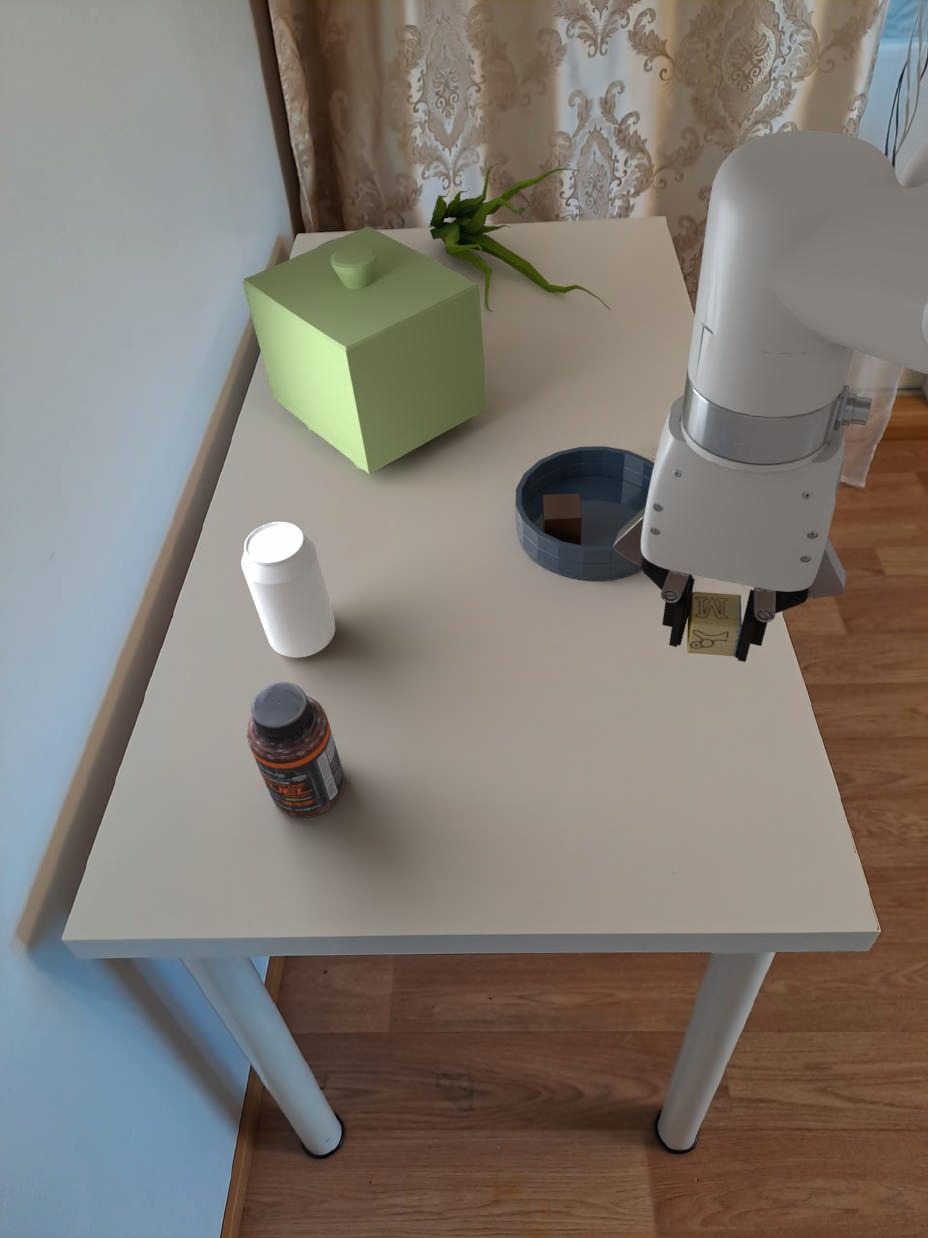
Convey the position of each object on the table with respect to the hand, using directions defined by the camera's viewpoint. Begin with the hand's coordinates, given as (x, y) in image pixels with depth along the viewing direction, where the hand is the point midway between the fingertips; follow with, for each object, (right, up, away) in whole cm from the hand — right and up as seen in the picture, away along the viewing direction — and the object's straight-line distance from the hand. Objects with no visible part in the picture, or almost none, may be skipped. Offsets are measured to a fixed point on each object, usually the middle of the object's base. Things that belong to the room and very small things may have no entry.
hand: (711, 636), depth 60 cm
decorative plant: (-9, +48, +64) cm, 81 cm away
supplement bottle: (-29, -12, +12) cm, 34 cm away
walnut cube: (-7, +10, +29) cm, 31 cm away
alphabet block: (0, 0, 0) cm, 0 cm away
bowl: (-3, +10, +30) cm, 32 cm away
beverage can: (-31, -1, +23) cm, 39 cm away
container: (-26, +24, +44) cm, 57 cm away
